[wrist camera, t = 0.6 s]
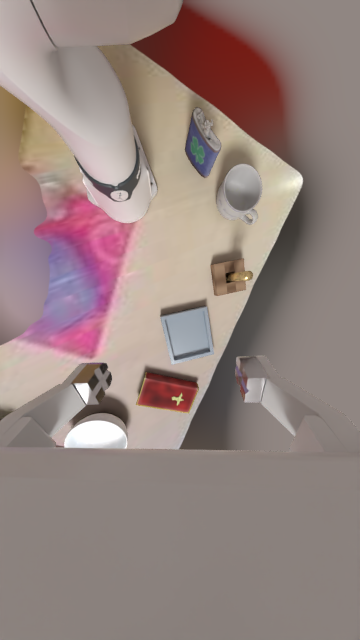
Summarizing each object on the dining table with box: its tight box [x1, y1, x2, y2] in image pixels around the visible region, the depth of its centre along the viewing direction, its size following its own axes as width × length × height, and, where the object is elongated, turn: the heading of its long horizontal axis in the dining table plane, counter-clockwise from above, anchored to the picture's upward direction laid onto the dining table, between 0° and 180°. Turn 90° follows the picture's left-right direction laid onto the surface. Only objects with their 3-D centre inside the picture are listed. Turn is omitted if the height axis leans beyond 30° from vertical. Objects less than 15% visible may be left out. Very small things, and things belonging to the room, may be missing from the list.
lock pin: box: [225, 271, 253, 281], centre depth 44 cm, size 2×2×13 cm
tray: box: [160, 306, 214, 364], centre depth 52 cm, size 18×16×2 cm
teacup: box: [216, 164, 262, 225], centre depth 41 cm, size 14×11×8 cm
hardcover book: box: [136, 372, 199, 413], centre depth 56 cm, size 12×21×4 cm, turn 71°
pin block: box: [211, 258, 246, 296], centre depth 49 cm, size 10×10×3 cm
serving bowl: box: [64, 413, 128, 449], centre depth 55 cm, size 21×21×7 cm
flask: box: [185, 107, 221, 178], centre depth 36 cm, size 9×3×11 cm, turn 44°
